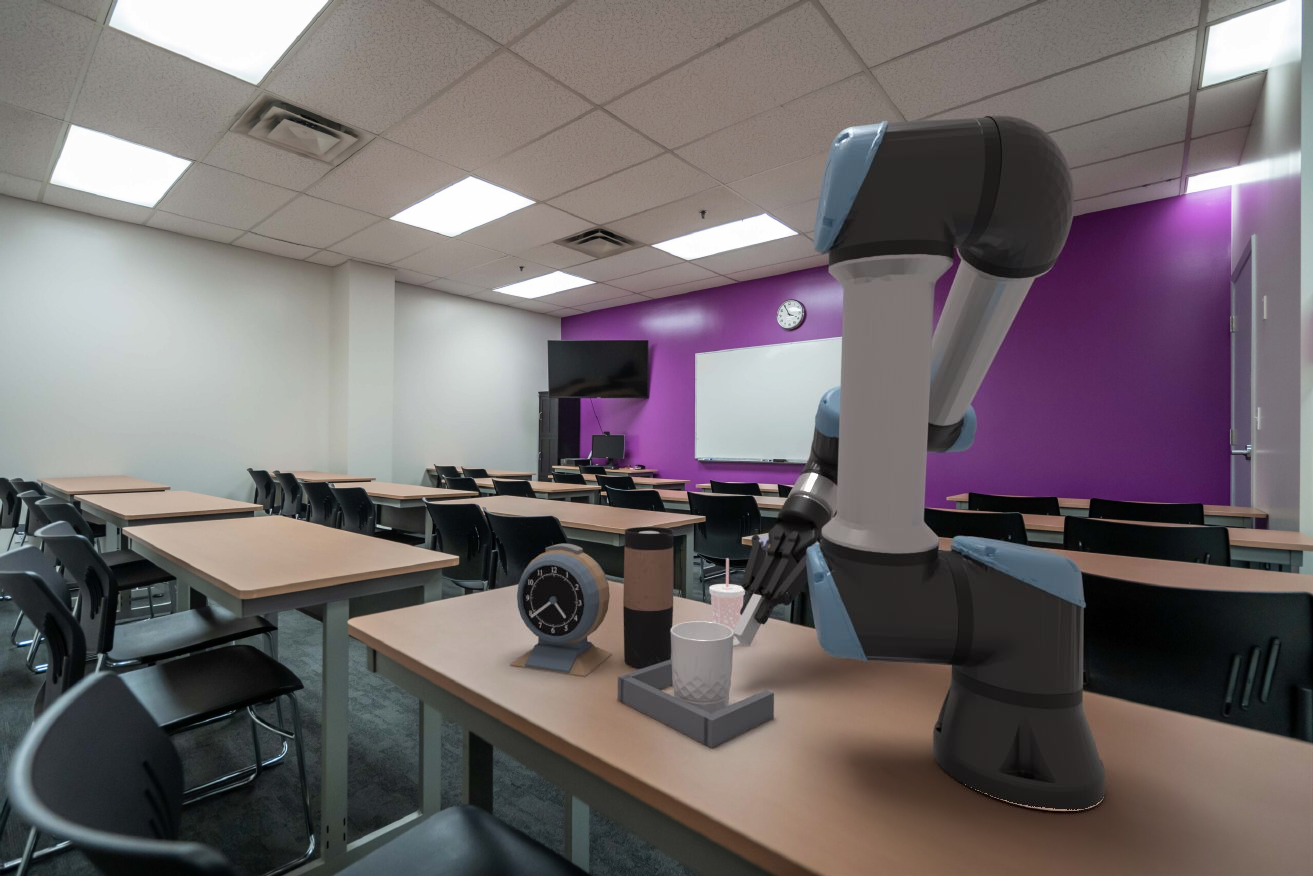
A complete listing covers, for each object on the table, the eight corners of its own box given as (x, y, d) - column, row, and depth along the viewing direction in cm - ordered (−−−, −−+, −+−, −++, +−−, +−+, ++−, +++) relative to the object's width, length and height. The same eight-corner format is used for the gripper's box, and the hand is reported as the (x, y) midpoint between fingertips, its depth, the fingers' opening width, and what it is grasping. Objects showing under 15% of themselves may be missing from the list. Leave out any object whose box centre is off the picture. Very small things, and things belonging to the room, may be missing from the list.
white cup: (658, 704, 76) (659, 625, 76) (711, 693, 80) (712, 618, 80) (689, 731, 69) (690, 644, 69) (745, 717, 72) (746, 635, 73)
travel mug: (616, 655, 93) (618, 527, 94) (661, 650, 96) (663, 526, 96) (631, 673, 86) (633, 534, 86) (680, 666, 89) (681, 532, 89)
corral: (679, 677, 85) (679, 656, 85) (773, 717, 73) (774, 692, 73) (617, 699, 77) (617, 676, 77) (711, 748, 65) (712, 720, 65)
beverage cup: (751, 640, 101) (752, 558, 102) (732, 649, 97) (733, 563, 97) (721, 633, 105) (722, 553, 105) (701, 641, 101) (702, 558, 101)
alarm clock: (504, 665, 89) (506, 546, 89) (537, 644, 98) (539, 537, 98) (591, 678, 84) (593, 552, 84) (618, 655, 93) (619, 542, 94)
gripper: (856, 529, 90) (792, 667, 78) (783, 521, 100) (717, 643, 88) (838, 496, 87) (768, 635, 75) (764, 490, 96) (692, 613, 84)
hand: (741, 639), depth 81 cm, fingers closed
